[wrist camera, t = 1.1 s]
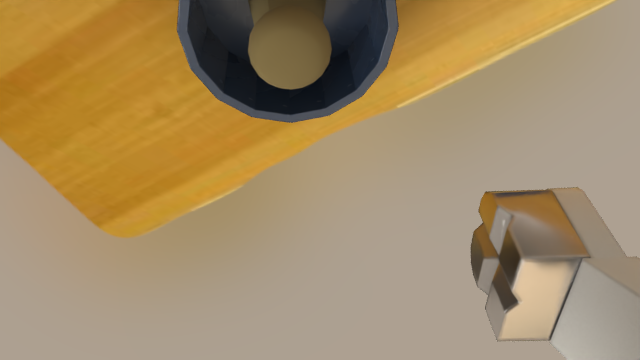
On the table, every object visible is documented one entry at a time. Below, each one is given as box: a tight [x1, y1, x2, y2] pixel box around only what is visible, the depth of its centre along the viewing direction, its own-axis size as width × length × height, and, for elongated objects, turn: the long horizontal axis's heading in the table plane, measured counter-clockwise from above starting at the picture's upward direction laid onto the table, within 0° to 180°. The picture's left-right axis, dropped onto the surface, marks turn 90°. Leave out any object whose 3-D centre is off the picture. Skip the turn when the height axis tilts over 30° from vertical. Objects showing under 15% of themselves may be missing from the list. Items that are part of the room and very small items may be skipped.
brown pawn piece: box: [248, 0, 332, 89], centre depth 41 cm, size 6×6×11 cm
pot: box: [177, 0, 399, 123], centre depth 43 cm, size 14×14×7 cm
